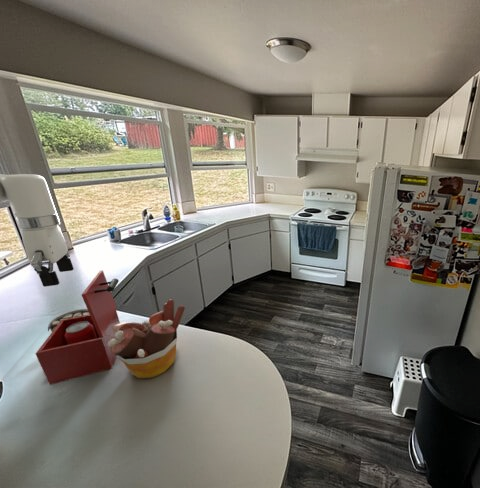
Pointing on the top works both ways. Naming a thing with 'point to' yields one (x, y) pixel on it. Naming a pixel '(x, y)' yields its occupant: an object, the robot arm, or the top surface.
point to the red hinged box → (76, 352)
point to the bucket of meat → (148, 342)
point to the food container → (71, 314)
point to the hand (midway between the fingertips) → (59, 277)
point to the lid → (100, 302)
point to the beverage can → (80, 332)
